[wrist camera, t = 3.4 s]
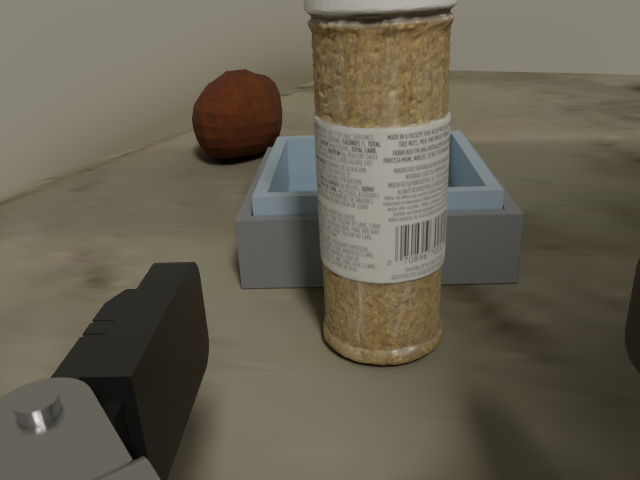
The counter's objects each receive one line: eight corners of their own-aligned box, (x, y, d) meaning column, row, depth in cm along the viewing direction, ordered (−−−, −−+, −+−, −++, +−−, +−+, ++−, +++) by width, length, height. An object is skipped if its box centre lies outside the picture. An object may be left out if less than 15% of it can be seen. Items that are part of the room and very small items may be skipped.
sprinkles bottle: (405, 296, 26) (410, -59, 20) (468, 352, 22) (495, -70, 16) (303, 321, 24) (279, -55, 19) (350, 386, 20) (338, -65, 15)
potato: (310, 144, 50) (306, 63, 47) (246, 178, 42) (237, 83, 40) (239, 138, 53) (232, 61, 50) (168, 168, 45) (155, 79, 43)
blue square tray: (272, 197, 38) (266, 134, 36) (466, 191, 37) (470, 127, 36) (241, 288, 27) (232, 203, 25) (517, 283, 26) (525, 195, 25)
